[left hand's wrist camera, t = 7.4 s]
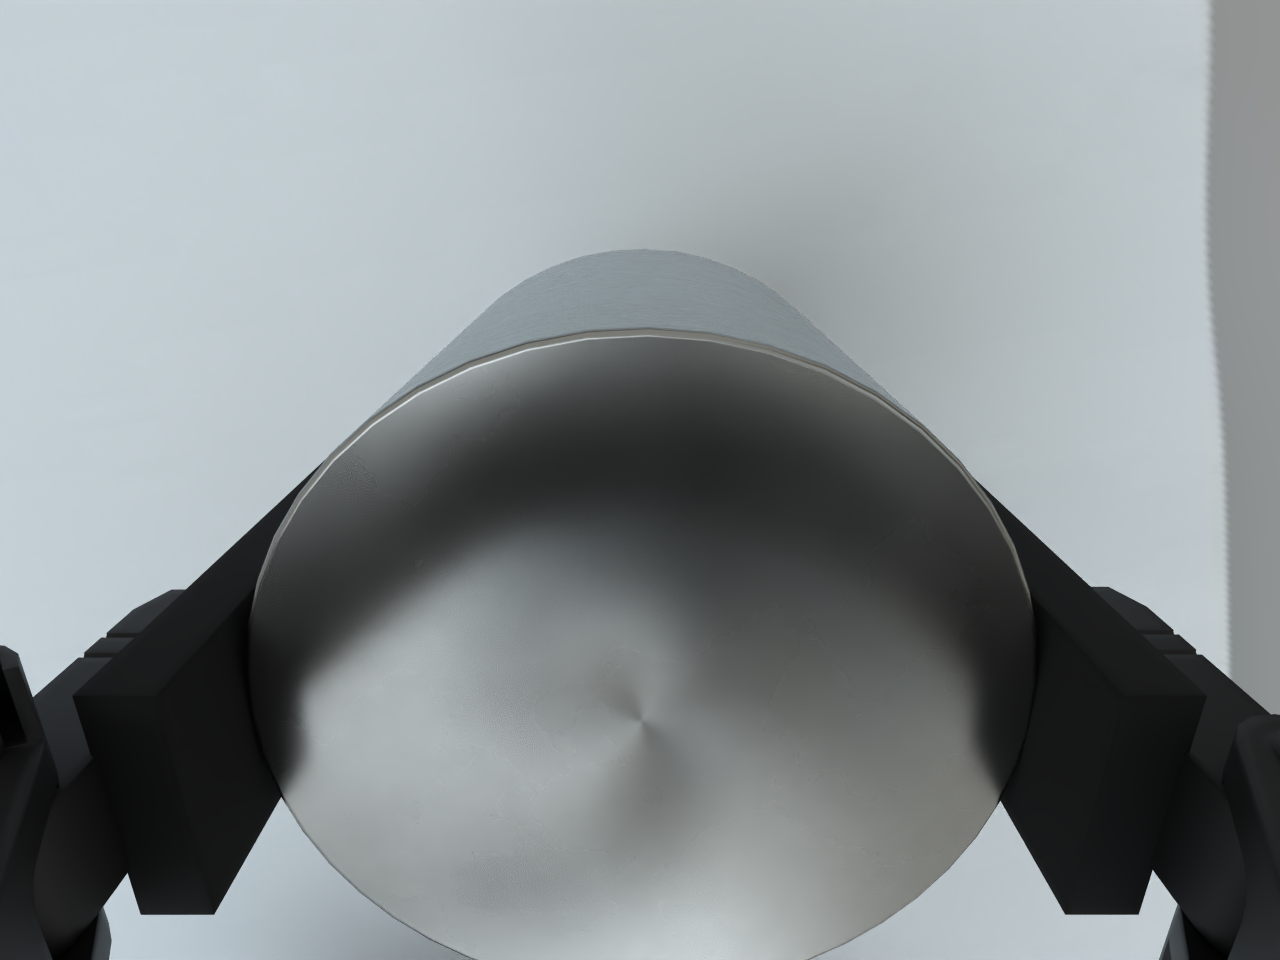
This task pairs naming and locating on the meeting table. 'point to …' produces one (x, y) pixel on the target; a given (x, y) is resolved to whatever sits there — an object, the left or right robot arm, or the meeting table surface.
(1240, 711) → the left robot arm
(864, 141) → the meeting table surface
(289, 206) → the meeting table surface
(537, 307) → the can
